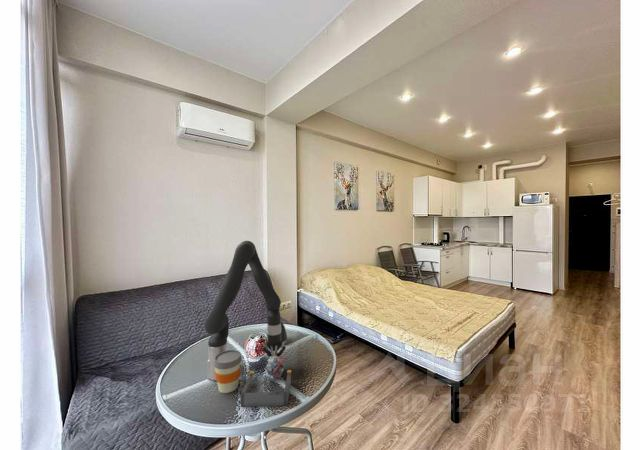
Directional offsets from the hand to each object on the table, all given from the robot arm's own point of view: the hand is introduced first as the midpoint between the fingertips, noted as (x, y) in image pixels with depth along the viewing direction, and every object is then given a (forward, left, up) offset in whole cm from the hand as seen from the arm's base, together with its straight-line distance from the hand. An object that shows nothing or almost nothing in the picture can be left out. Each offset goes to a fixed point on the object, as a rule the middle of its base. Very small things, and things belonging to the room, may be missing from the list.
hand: (274, 363), depth 138 cm
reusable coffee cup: (-20, -14, -3) cm, 25 cm away
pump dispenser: (-2, +28, -3) cm, 28 cm away
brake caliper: (+2, -7, -3) cm, 7 cm away
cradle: (0, -20, -3) cm, 21 cm away
